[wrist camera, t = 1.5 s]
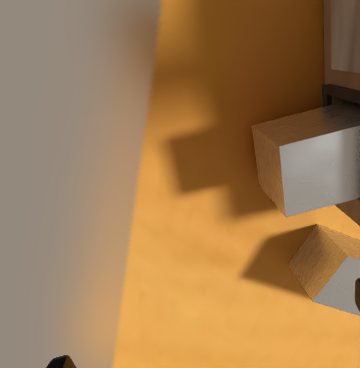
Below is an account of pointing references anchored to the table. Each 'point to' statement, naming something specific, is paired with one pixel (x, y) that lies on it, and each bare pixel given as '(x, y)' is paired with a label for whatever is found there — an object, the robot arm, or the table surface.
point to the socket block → (342, 65)
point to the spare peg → (329, 268)
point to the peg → (310, 158)
